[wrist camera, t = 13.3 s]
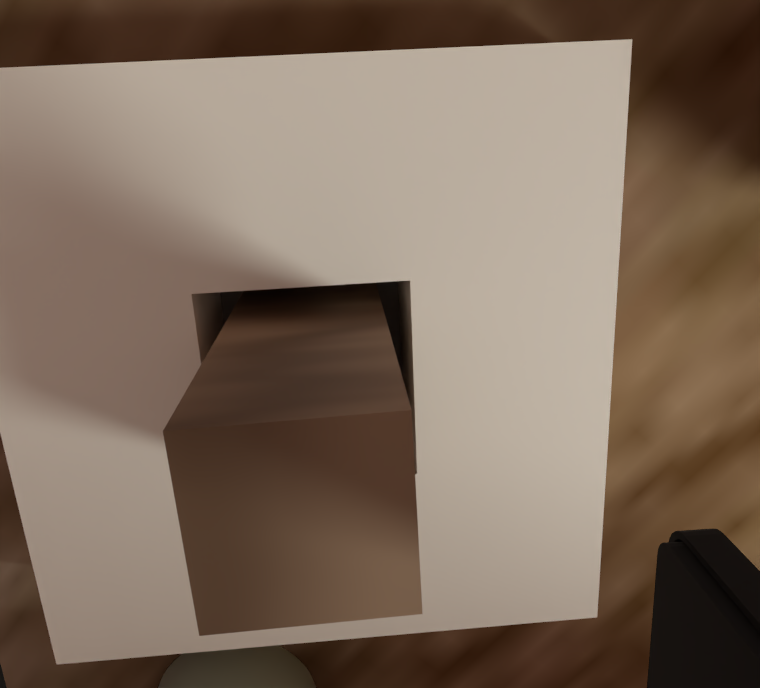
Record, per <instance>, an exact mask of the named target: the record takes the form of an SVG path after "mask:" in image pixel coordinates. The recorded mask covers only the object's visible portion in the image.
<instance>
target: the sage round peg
mask: <svg viewBox="0 0 760 688" xmlns="http://www.w3.org/2000/svg"><path fill="white" fill-rule="evenodd" d="M158 688H316V686H315V683H314V680H313V678H312V676H311V674H310V672H309V671H308V669H307V668H306V667H305V665H304V664H303V663H302V662H301V661H300V660H299V659H298V658H297V657H296V656H294V655H293V654H292V653H290V652H289V651H287V650H286V649H284V648H282V647H280V646H278V645H275V646H263V647H252V648H240V649H229V650H218V651H206V652H195V653H183V654H181V655H180V656H179V657H178V658H177V659H175V660H174V661H173V662H172V664H171V665H170V666H169V667H168V668H167V670H166V671H165V673H164V675H163V676H162V679H161V681H160V683H159V686H158Z"/></svg>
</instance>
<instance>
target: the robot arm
mask: <svg viewBox="0 0 760 688" xmlns="http://www.w3.org/2000/svg"><path fill="white" fill-rule="evenodd" d="M0 688H6V684H5V680H4V676H3V672H2V669H1V665H0ZM647 688H760V571H759V570H758V569H757V568H756V567H755V566H754V565H753V564H752V563H751V562H750V561H749V560H748V559H747V558H746V557H745V556H744V554H743V553H742V552H741V551H740V550H739V549H738V548H737V547H736V546H735V545H734V544H733V543H732V542H731V541H730V540H729V539H728V538H727V537H726V536H725V535H724V534H723V533H722V532H721V531H719V530H718V529H701V530H686V531H675V532H674V533H672V535H671V537H670V539H669V542H668V543H662V544H660V546H659V548H658V555H657V568H656V580H655V593H654V606H653V618H652V631H651V644H650V657H649V669H648V682H647Z"/></svg>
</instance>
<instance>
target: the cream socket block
mask: <svg viewBox="0 0 760 688" xmlns="http://www.w3.org/2000/svg"><path fill="white" fill-rule="evenodd" d="M631 53H632V39H627V40H604V41H582V42H560V43H538V44H516V45H494V46H472V47H450V48H428V49H406V50H383V51H361V52H339V53H317V54H295V55H273V56H251V57H229V58H207V59H185V60H162V61H140V62H118V63H96V64H74V65H52V66H30V67H8V68H0V434H1V438H2V442H3V447H4V451H5V455H6V459H7V463H8V467H9V471H10V475H11V479H12V484H13V488H14V492H15V496H16V500H17V504H18V508H19V512H20V516H21V521H22V525H23V529H24V533H25V537H26V541H27V545H28V549H29V554H30V558H31V562H32V566H33V570H34V574H35V578H36V582H37V586H38V591H39V595H40V599H41V603H42V607H43V611H44V615H45V619H46V623H47V628H48V632H49V636H50V640H51V644H52V648H53V652H54V656H55V661H56V665H57V664H69V663H80V662H92V661H103V660H115V659H126V658H137V657H149V656H160V655H172V654H183V653H195V652H206V651H218V650H229V649H240V648H252V647H263V646H275V645H286V644H298V643H309V642H321V641H332V640H344V639H355V638H366V637H378V636H389V635H401V634H412V633H424V632H435V631H447V630H458V629H469V628H481V627H492V626H504V625H515V624H527V623H538V622H550V621H561V620H573V619H584V618H595V617H597V613H598V596H599V580H600V563H601V547H602V530H603V514H604V497H605V481H606V464H607V448H608V432H609V415H610V399H611V382H612V366H613V349H614V333H615V316H616V300H617V283H618V267H619V250H620V234H621V217H622V201H623V184H624V168H625V152H626V135H627V119H628V102H629V86H630V69H631ZM361 283H376V285H377V288H378V292H379V296H380V299H381V303H382V306H383V310H384V313H385V317H386V321H387V324H388V328H389V331H390V335H391V338H392V342H393V345H394V349H395V353H396V356H397V360H398V363H399V367H400V370H401V374H402V378H403V381H404V385H405V388H406V392H407V395H408V399H409V402H410V406H411V410H412V427H413V445H414V464H415V483H416V501H417V520H418V539H419V558H420V576H421V595H422V614H417V615H407V616H397V617H387V618H377V619H367V620H356V621H346V622H336V623H326V624H316V625H306V626H296V627H285V628H275V629H265V630H255V631H245V632H235V633H225V634H214V635H204V636H199V632H198V626H197V620H196V615H195V609H194V604H193V598H192V592H191V587H190V581H189V576H188V570H187V564H186V559H185V553H184V548H183V542H182V536H181V531H180V525H179V520H178V514H177V508H176V503H175V497H174V492H173V486H172V480H171V475H170V469H169V464H168V458H167V452H166V447H165V441H164V436H163V430H164V428H165V426H166V425H167V423H168V421H169V419H170V418H171V416H172V414H173V413H174V411H175V409H176V407H177V406H178V404H179V402H180V400H181V399H182V397H183V395H184V393H185V392H186V390H187V388H188V387H189V385H190V383H191V381H192V380H193V378H194V376H195V374H196V373H197V371H198V369H199V367H200V366H201V364H202V362H203V361H204V359H205V357H206V355H207V354H208V352H209V350H210V348H211V347H212V345H213V343H214V341H215V340H216V338H217V336H218V334H219V333H220V331H221V329H222V328H223V326H224V324H225V322H226V321H227V319H228V317H229V315H230V314H231V312H232V310H233V308H234V307H235V305H236V303H237V302H238V300H239V298H240V296H241V295H242V293H243V291H249V290H264V289H280V288H296V287H313V286H329V285H345V284H361Z"/></svg>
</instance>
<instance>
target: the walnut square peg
mask: <svg viewBox="0 0 760 688" xmlns="http://www.w3.org/2000/svg"><path fill="white" fill-rule="evenodd" d="M163 436H164V441H165V447H166V452H167V458H168V464H169V469H170V475H171V480H172V486H173V492H174V497H175V503H176V508H177V514H178V520H179V525H180V531H181V536H182V542H183V548H184V553H185V559H186V564H187V570H188V576H189V581H190V587H191V592H192V598H193V604H194V609H195V615H196V620H197V626H198V632H199V636H204V635H214V634H225V633H235V632H245V631H255V630H265V629H275V628H285V627H296V626H306V625H316V624H326V623H336V622H346V621H356V620H367V619H377V618H387V617H397V616H407V615H417V614H422V595H421V576H420V558H419V539H418V520H417V501H416V483H415V464H414V445H413V427H412V410H411V406H410V402H409V399H408V395H407V392H406V388H405V385H404V381H403V378H402V374H401V370H400V367H399V363H398V360H397V356H396V353H395V349H394V345H393V342H392V338H391V335H390V331H389V328H388V324H387V321H386V317H385V313H384V310H383V306H382V303H381V299H380V296H379V292H378V288H377V285H376V283H361V284H345V285H329V286H313V287H296V288H280V289H264V290H249V291H243V293H242V295H241V296H240V298H239V300H238V302H237V303H236V305H235V307H234V308H233V310H232V312H231V314H230V315H229V317H228V319H227V321H226V322H225V324H224V326H223V328H222V329H221V331H220V333H219V334H218V336H217V338H216V340H215V341H214V343H213V345H212V347H211V348H210V350H209V352H208V354H207V355H206V357H205V359H204V361H203V362H202V364H201V366H200V367H199V369H198V371H197V373H196V374H195V376H194V378H193V380H192V381H191V383H190V385H189V387H188V388H187V390H186V392H185V393H184V395H183V397H182V399H181V400H180V402H179V404H178V406H177V407H176V409H175V411H174V413H173V414H172V416H171V418H170V419H169V421H168V423H167V425H166V426H165V428H164V430H163Z"/></svg>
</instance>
